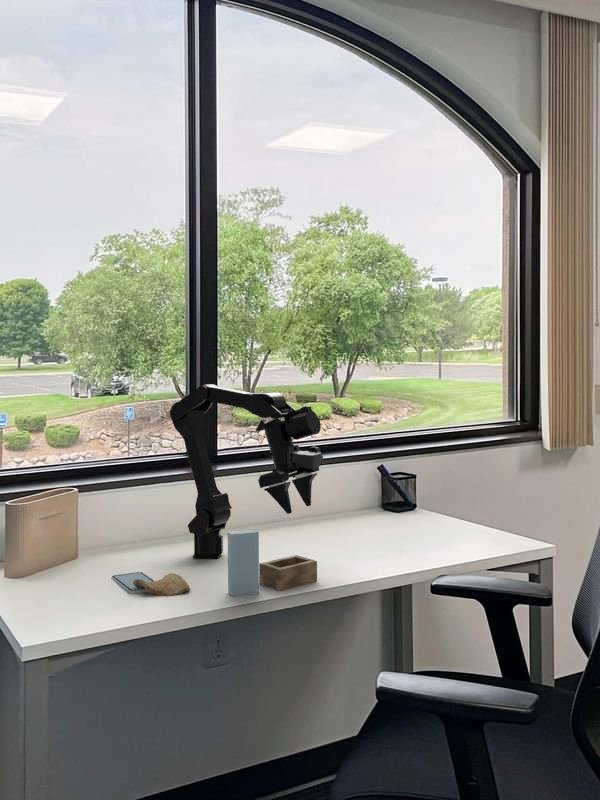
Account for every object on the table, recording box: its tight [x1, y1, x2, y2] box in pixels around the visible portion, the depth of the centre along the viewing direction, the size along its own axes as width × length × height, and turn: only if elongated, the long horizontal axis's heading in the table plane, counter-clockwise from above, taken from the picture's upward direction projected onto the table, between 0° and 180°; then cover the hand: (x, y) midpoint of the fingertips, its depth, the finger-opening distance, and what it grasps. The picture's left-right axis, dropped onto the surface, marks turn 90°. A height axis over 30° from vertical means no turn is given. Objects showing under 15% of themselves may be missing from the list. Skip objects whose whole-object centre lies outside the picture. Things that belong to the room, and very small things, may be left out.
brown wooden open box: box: [259, 554, 318, 592], centre depth 173 cm, size 11×7×4 cm, turn 132°
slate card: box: [227, 529, 260, 597], centre depth 165 cm, size 6×2×13 cm, turn 112°
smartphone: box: [111, 571, 155, 595], centre depth 173 cm, size 7×1×15 cm
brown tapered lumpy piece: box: [133, 572, 191, 597], centre depth 168 cm, size 11×4×10 cm
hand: (299, 509), depth 183 cm, fingers open, 9 cm apart
